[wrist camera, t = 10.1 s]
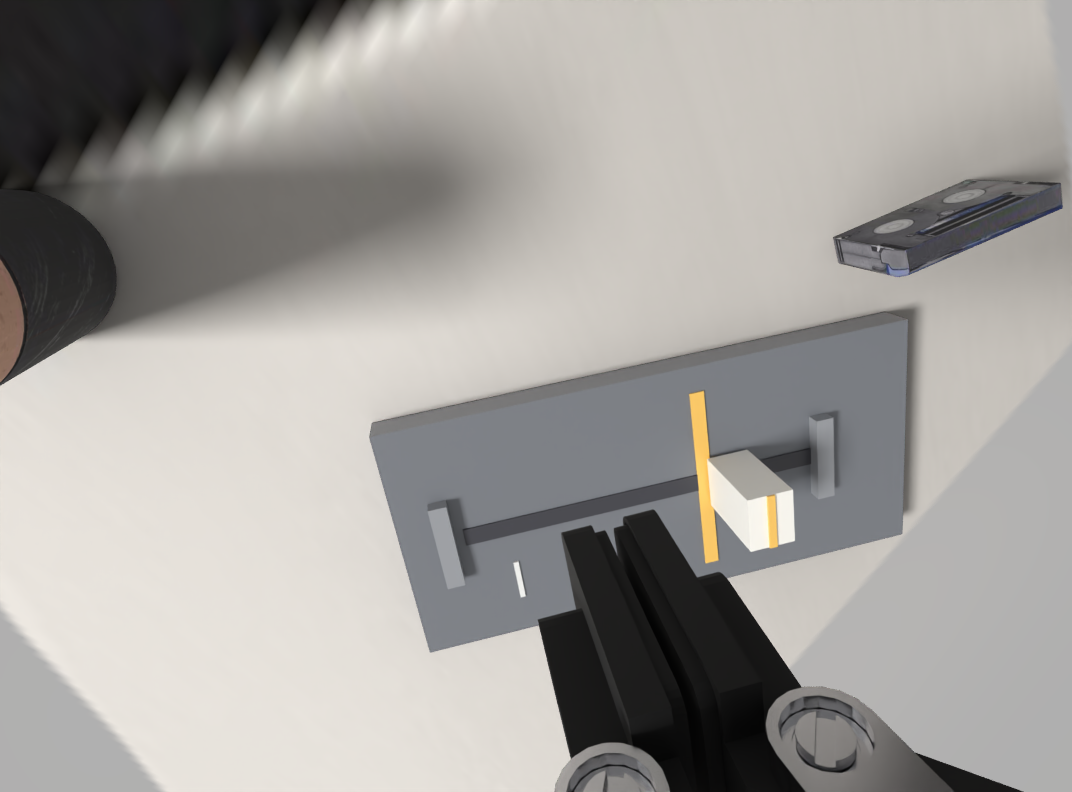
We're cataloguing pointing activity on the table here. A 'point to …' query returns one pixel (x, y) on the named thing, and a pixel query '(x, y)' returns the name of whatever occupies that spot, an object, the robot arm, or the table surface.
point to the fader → (751, 500)
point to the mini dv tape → (945, 224)
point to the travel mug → (48, 279)
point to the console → (643, 468)
